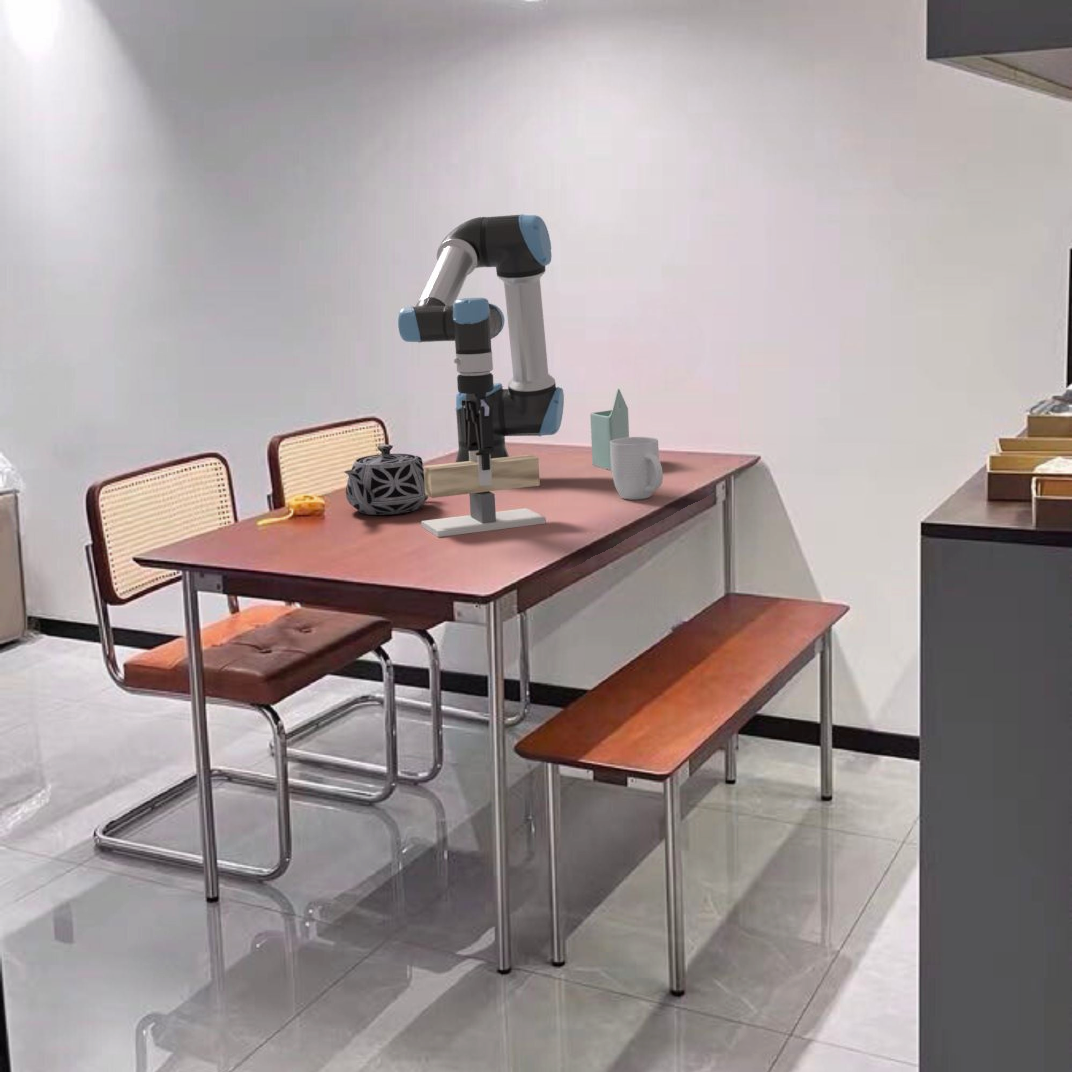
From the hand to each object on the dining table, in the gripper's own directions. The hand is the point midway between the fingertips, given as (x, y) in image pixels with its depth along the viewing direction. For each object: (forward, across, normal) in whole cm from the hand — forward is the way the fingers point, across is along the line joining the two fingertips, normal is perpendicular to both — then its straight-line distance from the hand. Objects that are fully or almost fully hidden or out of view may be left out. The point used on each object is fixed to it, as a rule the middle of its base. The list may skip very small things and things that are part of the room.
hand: (481, 482), depth 313 cm
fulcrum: (+9, 0, 0) cm, 9 cm away
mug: (+9, -8, +40) cm, 42 cm away
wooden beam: (+2, 0, 0) cm, 2 cm away
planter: (+10, -52, +51) cm, 73 cm away
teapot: (+9, -27, -14) cm, 32 cm away
